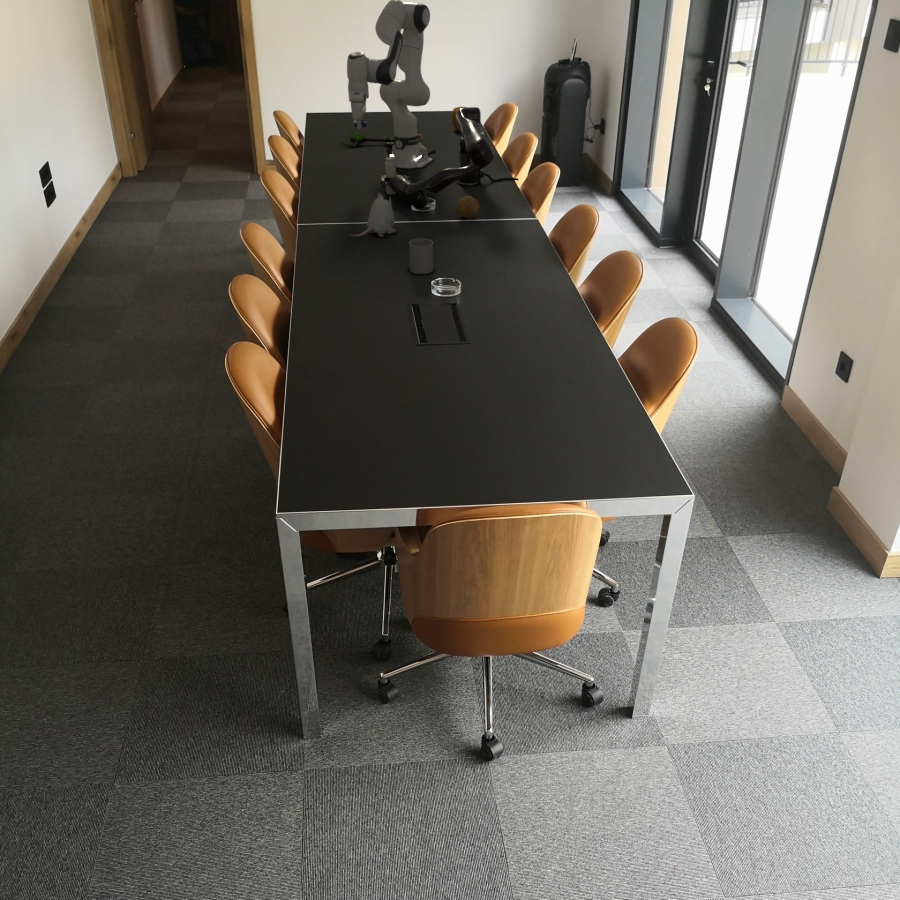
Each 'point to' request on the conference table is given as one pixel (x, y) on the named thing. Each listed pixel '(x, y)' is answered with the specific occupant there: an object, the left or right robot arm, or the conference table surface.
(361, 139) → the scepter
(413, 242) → the cup
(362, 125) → the lid
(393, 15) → the left robot arm
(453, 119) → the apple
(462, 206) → the potato
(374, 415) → the conference table surface
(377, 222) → the toy
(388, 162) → the jar
